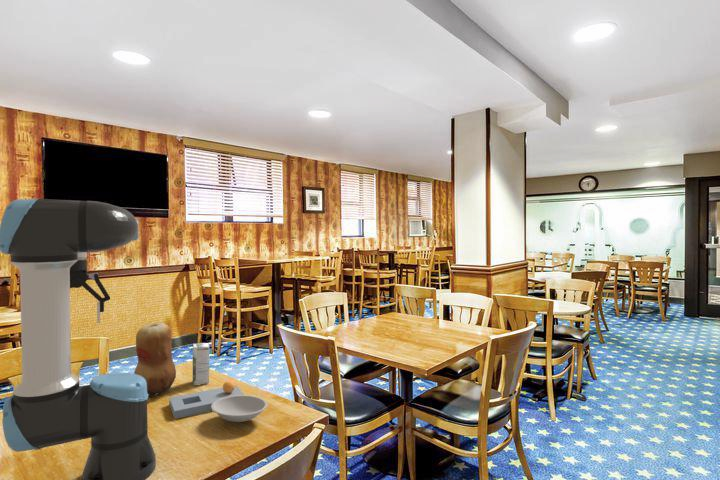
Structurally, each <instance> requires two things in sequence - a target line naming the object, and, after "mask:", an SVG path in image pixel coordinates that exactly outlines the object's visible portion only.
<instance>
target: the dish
mask: <svg viewBox="0 0 720 480" xmlns="http://www.w3.org/2000/svg"><path fill="white" fill-rule="evenodd" d="M267 408H268V402H267V400H265V399H264V398H262V397H260V396H255V395H248V394H244V395H235V396H228V397H224V398H221V399H218V400H216V401H215V402H213V403H212V405H211V409H212V410H213V411H212V412H214V413H215V414H217V415H218V416H219V417H220V418H221V419H224V420H226V421H228V422H232V423H242V422H247V421H251V420H253V419H255V418H257V417H258V416H259V415H260V414H261V413H263V411H265V410H267Z"/></svg>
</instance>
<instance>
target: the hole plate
mask: <svg viewBox="0 0 720 480" xmlns="http://www.w3.org/2000/svg"><path fill="white" fill-rule="evenodd" d="M235 395H245V394H244V393H243V391H242V390H241V389H240V388H239V386H238V385H237V384H235V389H234V391H233V392H231V393H226V392H224V390H223V386H221V387H217V388H211V389H208V390H203V391H202V390H201V391H196V392H192V393H186V394H182V395H176V396H169V399H168V402H169V404H168V406H169V408H170V410H171V411H170V412H171V413H172V416H173V419H174V420H177V419H182V418H188V417H189V416H190V417H191V416H196V415H200V413H201V414H205V413H208V412H207V411H210V412H212V411H211V410H212V409H211V405H212V403H213V402H215V401H216V400H218V399H221V398H224V397H228V396H235ZM204 412H205V413H204Z"/></svg>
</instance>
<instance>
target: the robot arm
mask: <svg viewBox="0 0 720 480" xmlns="http://www.w3.org/2000/svg"><path fill="white" fill-rule="evenodd" d="M2 214H3V215H2V216H1V217H2V218H1V221H0V253H1V254H4V255H10V256H9V257H10V264H11V265H12V266H14V267H15V268H16V269H18V270H19V277H20V278H19V280H20V281H19V282H20V285H19V287H20V288H19V289H20V327H21V328H20V331H21V333H20V334H21V342H20V343H21V381H20V382H19V383H18V384H17V385H16V386H15V387H14V388H13V390H12V395H11V396H9V397H7V398H6V399H5V401H4V402H3V406H2V420H1V421H2V429H3V435H4V439H5V442H6V444H7V446H8V447H9V448H10V450H12V451H14V452H18V453H19V452H26V451H33V450H35V451H38V450H42V449H44V448H48V447H54V446H59V445H63V444H68V443H72V442H77V441H82V440H86V439H90V442H91V443H90V450H89V453H88V456H87V459H86V461H85V465H84V468H83V470H82V477H81V479H82V480H146V479H147V478H149V477H150V475H152V473H153V472H154V471H155V469H156V465H157V462H156V461H157V460H156V458H157V457H156V453H155V450H154V448H153V446H152V442H151V440H150V438H149V435H148V431H149V430H148V426H149V425H148V399H149V395H148V393H147V383H146V380H145V379H144V378H143V377H142V376H140V375H137V374H134V372H122V371H121V372H120V371H119V372H107V373H103V374H98V375H96V376H94V377H93V378H92V379H90V382H89V384H87V385H80V377H78V376H77V375H75V374H74V373H73V372H72V357H71V353H72V349H71V347H72V346H71V336H72V335H71V289H73V288H74V289H79V288H81V287H82V288H83V289H85V290H86V291H87V292H88V293H89V294H91V295H92V296H93V297H94V298H95V299H96V300H97V301H96V310H97V311H96V315H97V316H96V318H97V321H96V323H97V324H100V323H101V313H104V311H105V302H107V301H109V300H111V296H110V295H109V293H108V291H107V289H106V288H105V287H104V285H103V283H102V282H101V279H100V278H99V272H94V273H88V259H86V258H87V257H88V253H95V252H103V251H104V252H105V251H109V250H113V249H118V248H121V247H124V246H126V245H128V244H129V243H131V242H134V241H137V240H139V220H138V218H137V217H135V216H134V214H132V213H131V212H130V211H129V210H127V209H125V208H123V207H120V206H118V205H113V204H111V203H107V202H102V201H96V200H95V201H94V200H71V199H68V200H67V199H48V198H23V199H22V198H21V199H20V198H19V199H14V200H12V201H10V202H9V203H8V205H7V206H6V208H5V210H4V212H3V213H2ZM89 279H91V280H92V281H94V282H95V284H96V285H97V287H98V288H99V289H98V290H100V292H101V293H102V295H103V297H102V296H101V295H100V294H99V293H98V292H97V291H95V289H93V287H91V286H90V285H89V284H88V283H87V282H88V281H87V280H89Z"/></svg>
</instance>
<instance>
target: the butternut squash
mask: <svg viewBox="0 0 720 480" xmlns="http://www.w3.org/2000/svg"><path fill="white" fill-rule="evenodd" d="M172 344H173V340H172V330H171V327H170V326H169V325H168V324H167V323H164V322H154V323H150V324H146V325H144V326H141V328H140V329H138V330H137V332H136V337H135V351H136V355H137V365H136V366H135V369H134V372H133V374H137V375H140V376H142V377H143V378H144V379H145V380H146V383H147V393H148V396H157V395H158V394H160V393H165V392H166V391H168V390H169V389H170V388H172V385H173V383H174V382H175V379H176V378H177V377H176V376H177V370H176V367H175V366H176V365H175V363H174V360H173V353H172V352H173V348H172V346H173V345H172Z"/></svg>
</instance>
